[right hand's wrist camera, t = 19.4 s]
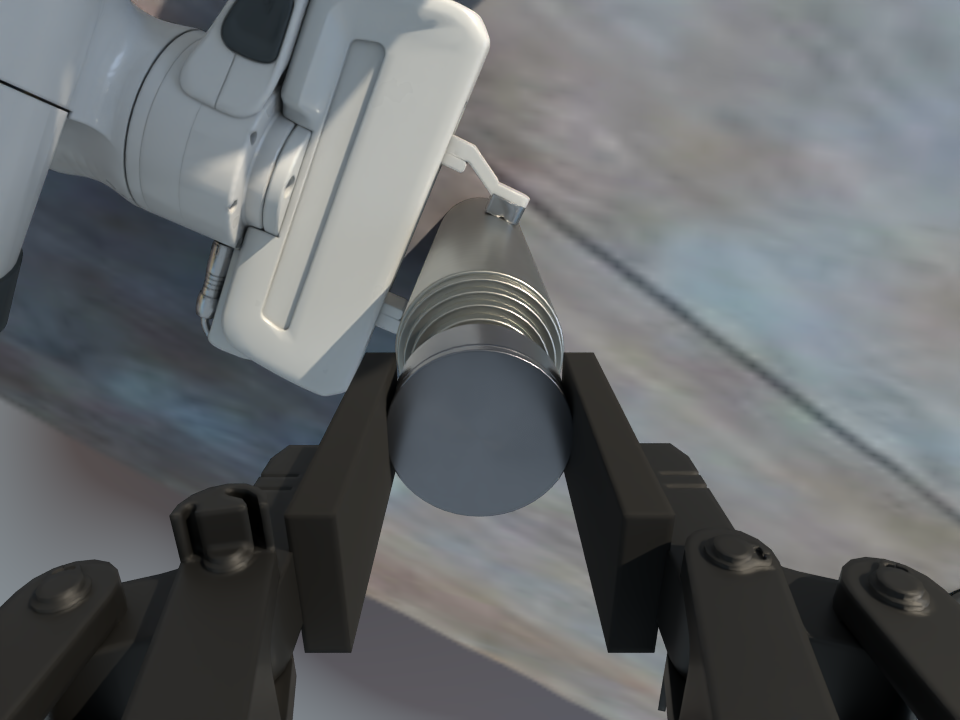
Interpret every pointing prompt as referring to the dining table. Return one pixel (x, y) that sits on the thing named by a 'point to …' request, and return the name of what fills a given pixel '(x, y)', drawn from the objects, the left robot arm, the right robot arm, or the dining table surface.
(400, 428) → the cap
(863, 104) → the dining table surface
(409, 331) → the bottle
